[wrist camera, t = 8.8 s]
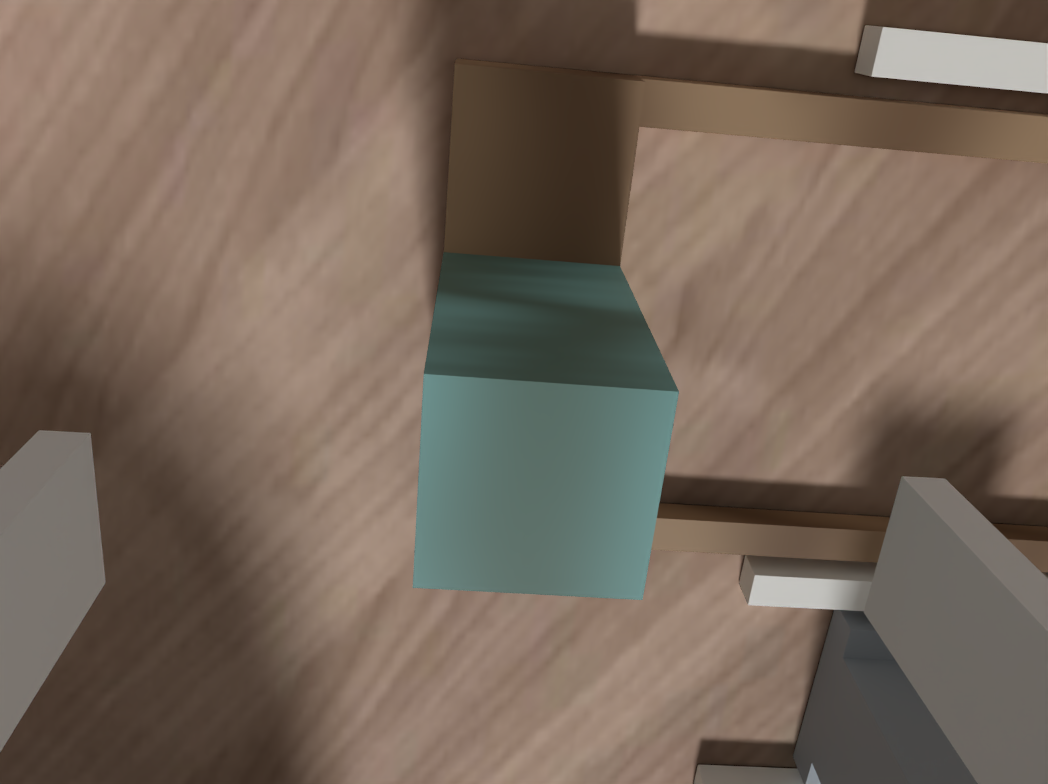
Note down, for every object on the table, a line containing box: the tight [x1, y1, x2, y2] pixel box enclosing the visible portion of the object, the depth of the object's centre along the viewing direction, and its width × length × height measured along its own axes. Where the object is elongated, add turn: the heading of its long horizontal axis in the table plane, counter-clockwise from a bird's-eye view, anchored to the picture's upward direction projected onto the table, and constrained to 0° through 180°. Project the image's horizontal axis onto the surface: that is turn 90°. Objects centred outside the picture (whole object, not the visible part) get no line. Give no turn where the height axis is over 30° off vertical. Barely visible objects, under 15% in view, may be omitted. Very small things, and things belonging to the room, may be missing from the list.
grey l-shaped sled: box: [793, 610, 978, 784], centre depth 25 cm, size 10×6×7 cm, turn 85°
